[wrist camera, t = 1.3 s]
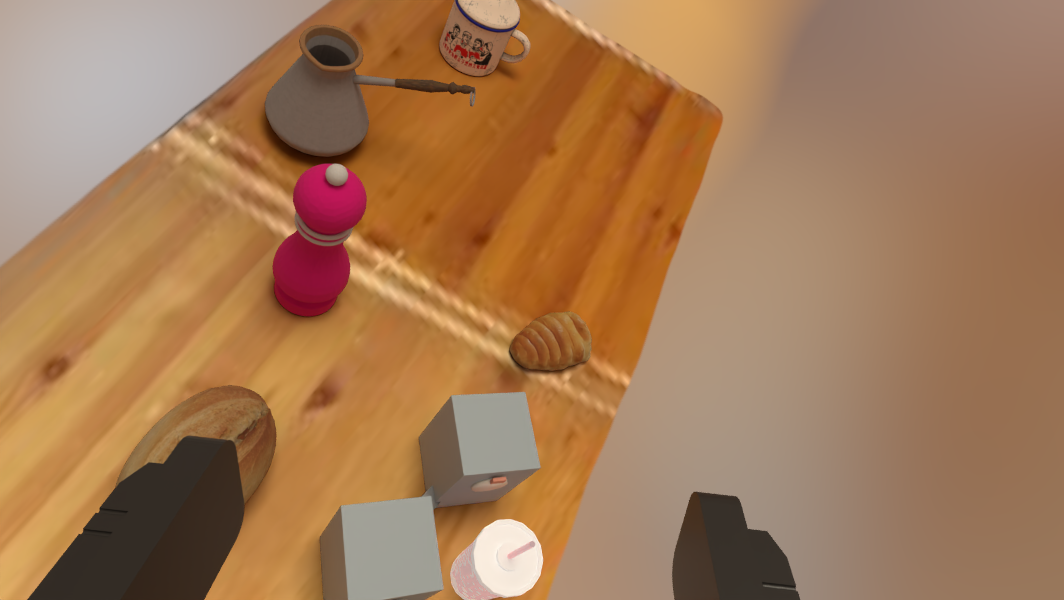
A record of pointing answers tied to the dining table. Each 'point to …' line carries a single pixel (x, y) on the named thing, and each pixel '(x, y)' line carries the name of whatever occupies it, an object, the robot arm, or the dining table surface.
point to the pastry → (552, 342)
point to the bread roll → (214, 432)
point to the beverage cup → (498, 562)
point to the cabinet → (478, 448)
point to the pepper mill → (318, 240)
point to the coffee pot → (330, 94)
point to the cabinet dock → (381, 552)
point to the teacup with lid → (481, 35)
